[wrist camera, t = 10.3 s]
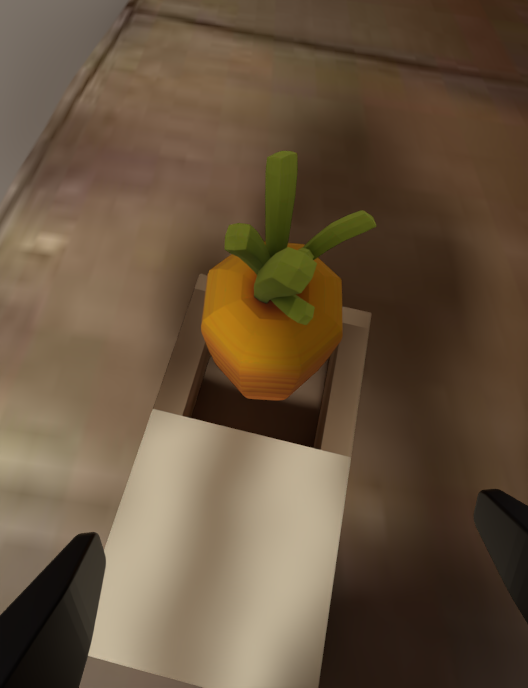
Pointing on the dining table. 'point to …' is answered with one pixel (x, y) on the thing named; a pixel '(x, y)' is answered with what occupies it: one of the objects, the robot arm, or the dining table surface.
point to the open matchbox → (229, 533)
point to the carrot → (276, 295)
